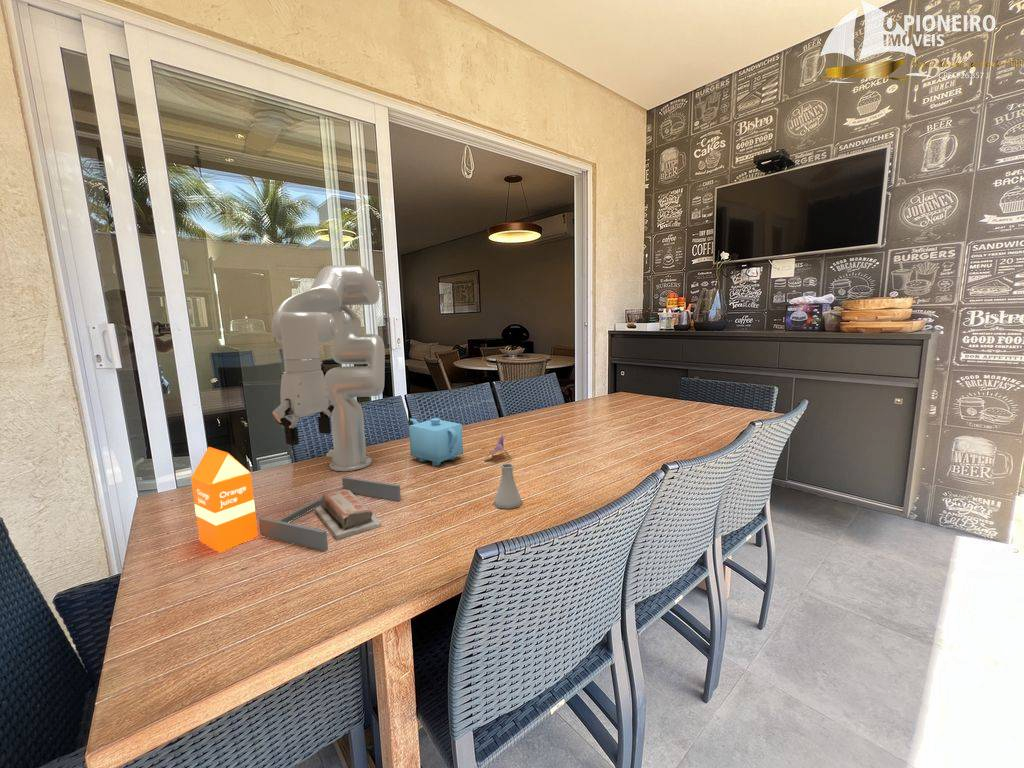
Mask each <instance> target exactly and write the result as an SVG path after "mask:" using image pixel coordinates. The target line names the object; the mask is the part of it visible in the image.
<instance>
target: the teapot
mask: <svg viewBox="0 0 1024 768" xmlns="http://www.w3.org/2000/svg"><path fill="white" fill-rule="evenodd" d="M409 420H410V421H411V423H412V424H409V426H408V430H409V432H408V434H409V447H410V448H409V450H410V456H412V457H415V458H418V462H420V463H423V462H426V461H430V462H432V464H431V465H432V466H433V467H434V466H435V467H436V466H437V467H438V466H441V465H442V463H441V462H444V461H448V460H449V461H454V460H456V458H457V457H458V456H460V455H463V454H464V446H463V444H464V443H463V424H462V423H457V422H454V421H448V420H443V419H441V418H438V417H433V418H431V419H428V420H425V421H422V422H419V421H418V419H416V418H409Z"/></svg>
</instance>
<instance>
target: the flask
mask: <svg viewBox="0 0 1024 768" xmlns="http://www.w3.org/2000/svg"><path fill="white" fill-rule="evenodd" d="M500 468H501V478H500V482H499V486H498V489H497V492H496V495H495V497H494V500H493V504H494V505H495V507H496V508H497V509H508V510H509V509H514V508H520V507H521V505H522V503H523V500H522V497H521V496H520V495H521V494H520V491H519V490H518V487H517V484H516V481H515V479H514V472H513V469H514V464H513V463H507V462H505V463H502V464H500Z"/></svg>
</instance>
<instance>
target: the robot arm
mask: <svg viewBox="0 0 1024 768" xmlns="http://www.w3.org/2000/svg"><path fill="white" fill-rule="evenodd" d="M379 298H380V288H379V285H378V282H377V280H376V279H375V278H374V276H373V275H372V273H371V272H370V271H369V270H368V269H367V268H365V267H364V266H362V265H354V264H353V265H352V264H351V265H350V264H348V265H346V264H345V265H343V264H341V265H337V264H336V265H327V266H324V267H323V268H322V269H320V270H319V271H318V273H317V275H316V277H315V279H314V280H313V283H312V284H311V286H310V288H308V289H305V290H303V291H301V292H299V293H297V294H294V295H291V296H290V297H288V298H286V299H285V300H284V301H282V302H281V303H280V304H279V306H278V308H277V309H276V311H275V312H274V314H273V318H272V320H271V321H272V322H271V332H272V334H273V337H274V338H275V339H276V340H277V341H278V342H280V343H282V353H283V354H282V355H283V363H284V372H285V373H282V375H281V381H280V392H279V393H280V395H279V396H280V404H279V405H278V406H277V407H276V408H275V409H273V411H272V415H273V416H274V418H275V420H276V423H278V424H279V425H280V426H281V428H284V436H285V444H286V445H292V446H297V445H298V446H299V443H300V439H299V438H300V437H299V430H298V427H297V426H296V425H297V424H298V421H299V419H300V418H305V417H309V416H314V415H317V414H318V415H319V416H318V417H317V422H318V433H319V434H325V435H329V434H332V443H333V444H332V445H333V449H329V450H328V452H327V453H326V454H325V456H326V457H327V458H331V461H330V463H329V468H330V470H332V471H336V472H351V471H355V470H356V471H357V470H360V469H364V468H367V467H368V466H370V465H371V464H372V462H373V461H372V457H370V456H369V455H367V449H366V446H367V445H366V436H365V435H366V434H365V432H366V431H365V420H364V410H363V407H362V406H361V404H360V403H359V402H358V401H357V400H356V398H359V397H360V398H361V397H362V398H363V397H365V398H366V397H377V396H381V395H382V393H383V392H384V390H385V389H384V388H385V375H386V374H385V373H386V372H385V370H386V369H385V368H386V366H385V365H386V364H385V363H386V362H385V361H386V360H385V359H386V353H385V352H386V349H385V348H386V347H385V343H384V341H383V338H382V337H381V336H380V335H379V334H374V333H362V321H361V319H360V318H359V316H358V315H357V314H356V312H354V310H353V309H351V308H350V307H349V306H366V305H367V306H371V305H375V304H376V303H377V302H378V301H379ZM327 342H331V357H332V360H334V362H335V363H338V364H340V365H341V364H342V365H350V366H337V367H333V368H331V369H329V370H327V371H326V373H325V374H324V371H323V370H322V364H323V360H321V352H320V350H321V349H320V343H321V344H322V343H327ZM365 364H367V366H366V365H365ZM351 365H358V366H351ZM359 365H361V366H359ZM362 365H364V366H362Z"/></svg>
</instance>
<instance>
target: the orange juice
mask: <svg viewBox="0 0 1024 768" xmlns="http://www.w3.org/2000/svg"><path fill="white" fill-rule="evenodd" d="M199 461H200V462H199V463H198V465H197V467H196V468H195V470H194V472H193V474H192V475H191V476H190V480H191V481H190V482H191V487H192V495H193V500H194V510H195V511H194V512H195V516H196V523H197V528H198V538H199V542H200V541H201V542H202V543H201V542H200V543H201V544H203V543H204V544H206V545H208V546H210V547H211V548H213V549H214V550H213V549H212V550H213V551H215V550H216V551H215V552H217V551H218V552H222V553H224V552H226V551H225V550H227V549H229V550H231V549H233V548H232V547H234V546H236V547H238V546H240V545H239V544H241V543H243V544H245V543H246V542H245V541H248V540H250V539H252V538H255V537H256V536H258V537H259V535H258V534H259V533H258V524H257V516H256V506H255V499H254V498H255V497H254V490H253V483H252V473H251V471H249V469H247V468H246V467H245V466H244V465H243V464H241V463H240V461H238V460H237V459H235V458H234V456H232V455H231V454H230V453H229V452H227V451H224V450H220V449H217V448H214V447H211V446H208V447H207V449H206V451H205V453H204V455H203V456H202V457H201V460H199ZM255 539H256V538H255ZM252 540H253V539H252ZM250 541H251V540H250ZM244 542H245V543H244ZM248 542H249V541H248ZM204 544H203V545H204ZM206 545H205V546H206ZM237 545H238V546H237ZM241 545H242V544H241ZM208 546H207V547H208ZM210 547H209V548H210ZM211 548H210V549H211ZM230 548H231V549H230ZM234 548H235V547H234ZM223 551H224V552H223ZM227 551H228V550H227ZM218 552H217V553H218Z"/></svg>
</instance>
